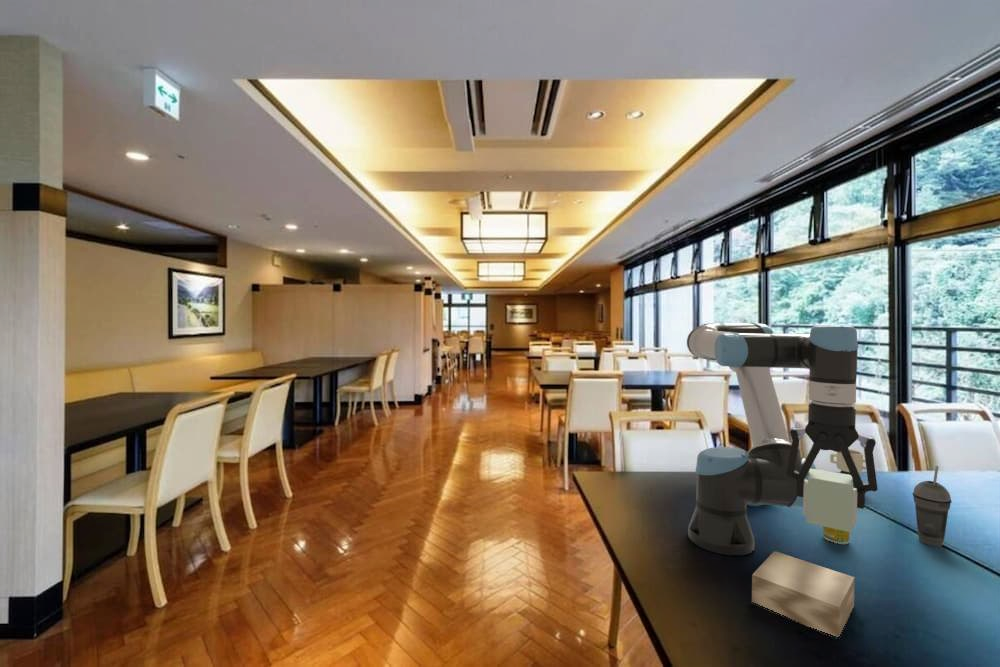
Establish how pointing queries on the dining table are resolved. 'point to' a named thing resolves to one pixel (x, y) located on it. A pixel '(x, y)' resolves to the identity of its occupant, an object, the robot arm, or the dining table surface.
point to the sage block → (830, 499)
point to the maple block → (804, 592)
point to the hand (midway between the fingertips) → (828, 517)
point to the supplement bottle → (836, 535)
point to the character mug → (842, 464)
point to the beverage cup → (931, 511)
